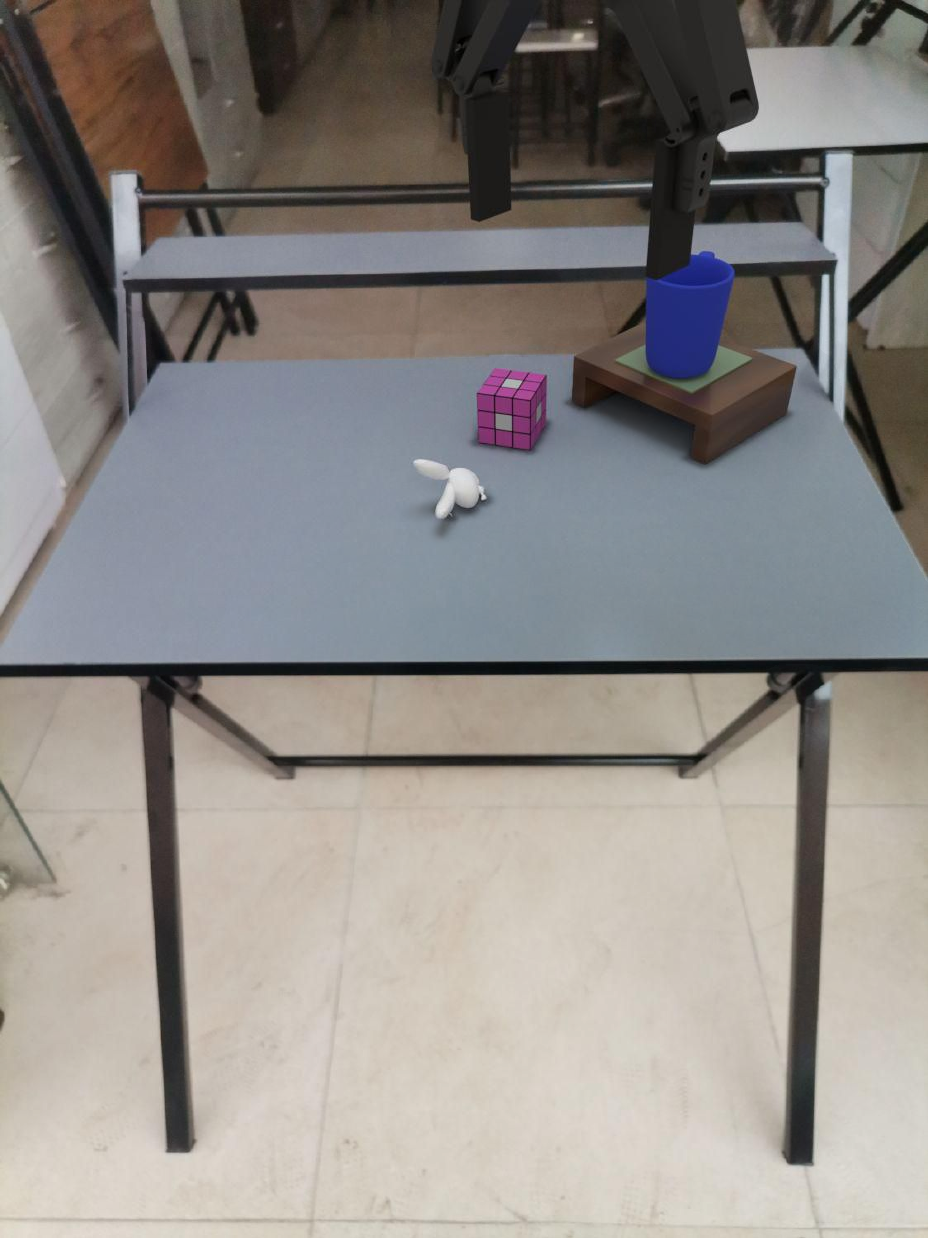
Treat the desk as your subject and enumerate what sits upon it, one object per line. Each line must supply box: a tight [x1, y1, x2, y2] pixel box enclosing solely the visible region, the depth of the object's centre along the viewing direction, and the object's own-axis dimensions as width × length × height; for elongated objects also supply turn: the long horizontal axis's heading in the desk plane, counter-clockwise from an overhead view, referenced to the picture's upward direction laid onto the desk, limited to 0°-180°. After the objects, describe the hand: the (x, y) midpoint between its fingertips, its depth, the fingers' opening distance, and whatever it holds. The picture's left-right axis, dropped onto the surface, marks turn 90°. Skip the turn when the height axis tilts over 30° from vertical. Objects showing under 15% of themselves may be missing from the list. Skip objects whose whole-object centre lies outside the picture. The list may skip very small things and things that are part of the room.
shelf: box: [571, 321, 798, 465], centre depth 97 cm, size 18×14×6 cm
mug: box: [645, 250, 736, 379], centre depth 92 cm, size 8×12×10 cm
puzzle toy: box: [476, 367, 548, 451], centre depth 95 cm, size 6×6×6 cm
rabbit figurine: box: [412, 458, 488, 520], centre depth 86 cm, size 6×4×8 cm
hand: (572, 241), depth 52 cm, fingers open, 13 cm apart
